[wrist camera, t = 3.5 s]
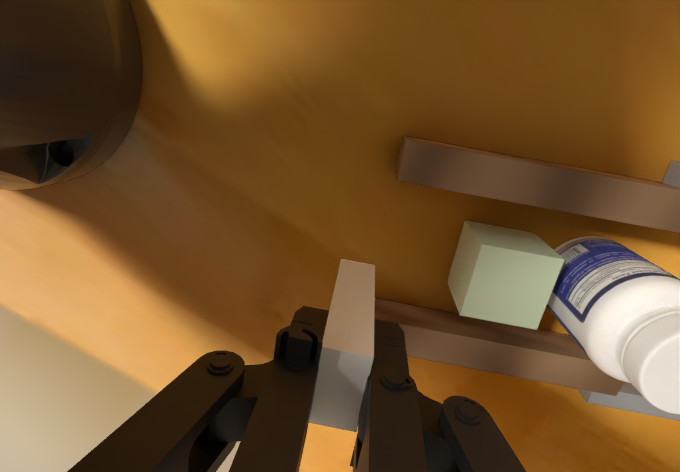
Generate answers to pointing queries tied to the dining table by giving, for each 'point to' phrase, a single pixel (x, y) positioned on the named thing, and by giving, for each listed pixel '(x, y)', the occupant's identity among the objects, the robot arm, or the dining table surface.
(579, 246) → the pill bottle
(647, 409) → the grey u-shaped frame
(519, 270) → the chip cube
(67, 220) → the dining table surface
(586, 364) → the slot rails
